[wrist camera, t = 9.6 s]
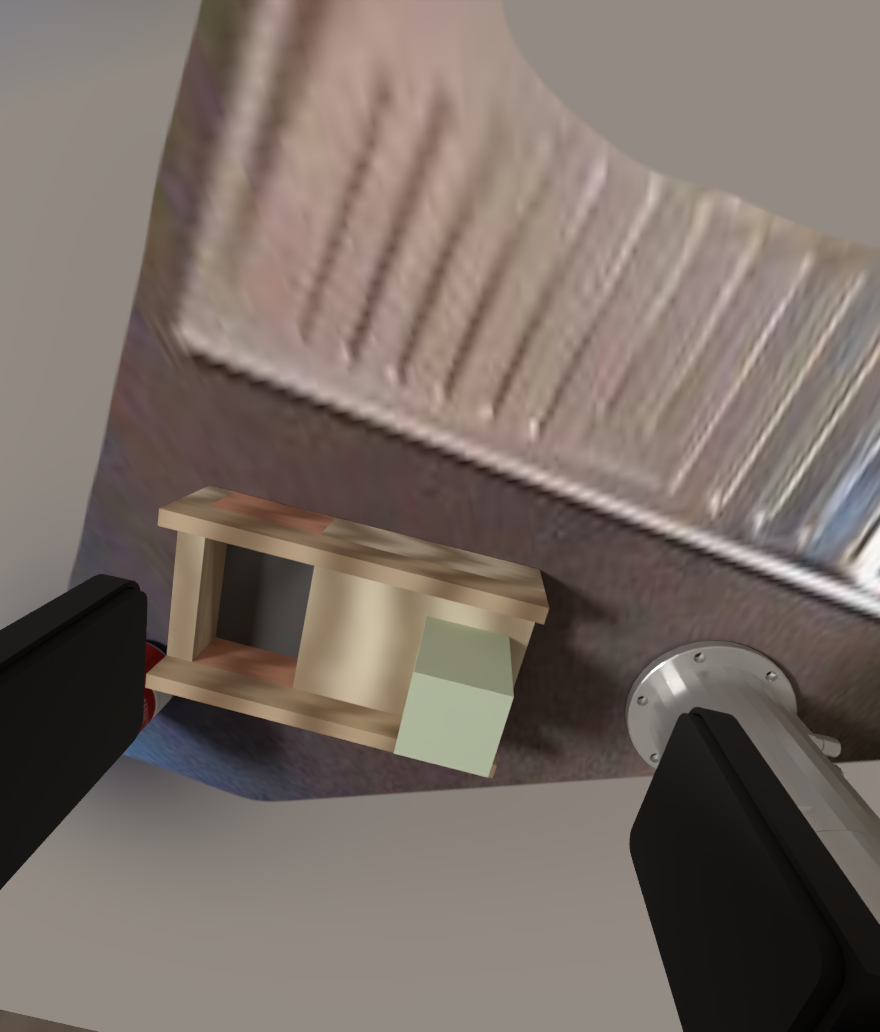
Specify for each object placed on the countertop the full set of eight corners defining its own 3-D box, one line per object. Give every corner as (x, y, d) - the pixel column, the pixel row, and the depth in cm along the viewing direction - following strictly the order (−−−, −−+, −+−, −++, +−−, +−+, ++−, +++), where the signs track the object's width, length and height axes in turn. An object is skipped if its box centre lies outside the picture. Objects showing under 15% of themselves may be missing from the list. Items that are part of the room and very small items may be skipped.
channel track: (539, 569, 40) (549, 608, 34) (491, 719, 44) (492, 778, 38) (209, 485, 40) (159, 508, 34) (193, 641, 44) (145, 687, 38)
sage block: (509, 636, 37) (513, 696, 30) (488, 705, 39) (488, 777, 32) (427, 615, 37) (413, 671, 31) (409, 686, 39) (393, 753, 32)
